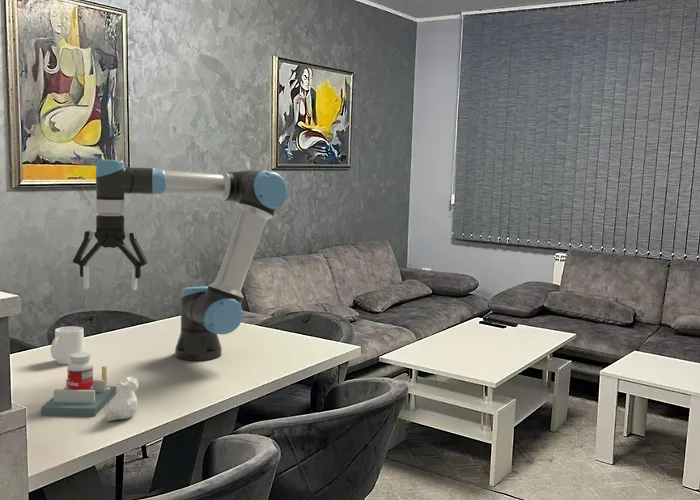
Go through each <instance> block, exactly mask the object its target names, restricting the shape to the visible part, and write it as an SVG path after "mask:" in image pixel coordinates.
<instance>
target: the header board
mask: <svg viewBox="0 0 700 500" xmlns="http://www.w3.org/2000/svg"><path fill="white" fill-rule="evenodd" d="M107 368H108V367H107V366H105V365H103V366H101V379H93V390H68V378H66V380H65V382H66V383H65V387H64V388H61V389H60V388H59V389H58V388H56V389H54V390H53V397H51V399H49V400H48V401H47V402H45V404H43V405H42V406H41V408H40V413H41V416H61V417H62V416H65V417H66V416H67V417H72V416H73V417H96V416H97V415H98V414H99V413H100V411H101V410H102V409H103V408H105V406H106V405H107V404H109V403H110V402H111V400H112V399H113V397H114V396H115V395H116V394H117V387H116V386H117V385H115V386H114V385H110V386H109V385H107V384H108V383H107V379H108V378H107Z"/></svg>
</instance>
